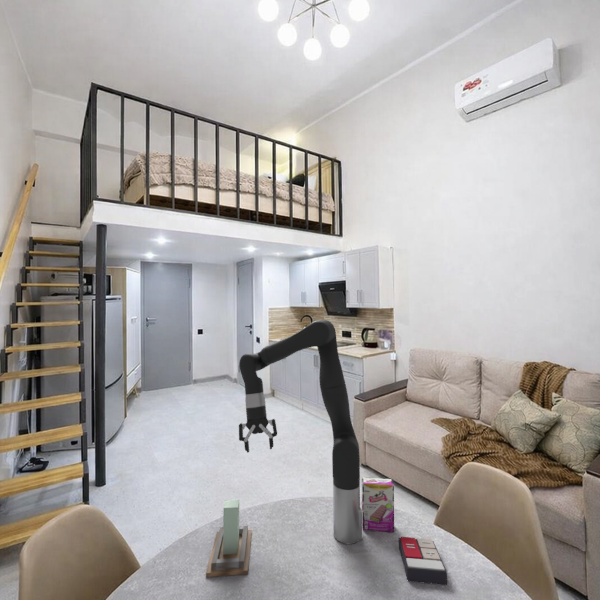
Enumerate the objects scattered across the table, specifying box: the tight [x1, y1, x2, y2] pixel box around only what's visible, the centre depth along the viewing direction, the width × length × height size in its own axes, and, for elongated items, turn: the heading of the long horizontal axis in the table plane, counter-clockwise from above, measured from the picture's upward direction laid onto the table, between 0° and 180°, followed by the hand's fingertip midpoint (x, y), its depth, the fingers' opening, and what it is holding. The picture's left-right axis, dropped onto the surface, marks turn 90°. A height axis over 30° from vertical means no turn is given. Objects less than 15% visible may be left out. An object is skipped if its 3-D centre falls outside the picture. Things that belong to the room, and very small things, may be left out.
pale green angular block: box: [222, 499, 240, 554], centre depth 105 cm, size 4×4×14 cm
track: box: [205, 525, 253, 578], centre depth 105 cm, size 12×19×3 cm, turn 5°
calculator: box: [398, 536, 448, 586], centre depth 100 cm, size 11×4×15 cm
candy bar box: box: [361, 477, 395, 533], centre depth 118 cm, size 11×5×16 cm, turn 84°
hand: (259, 450), depth 122 cm, fingers open, 8 cm apart
